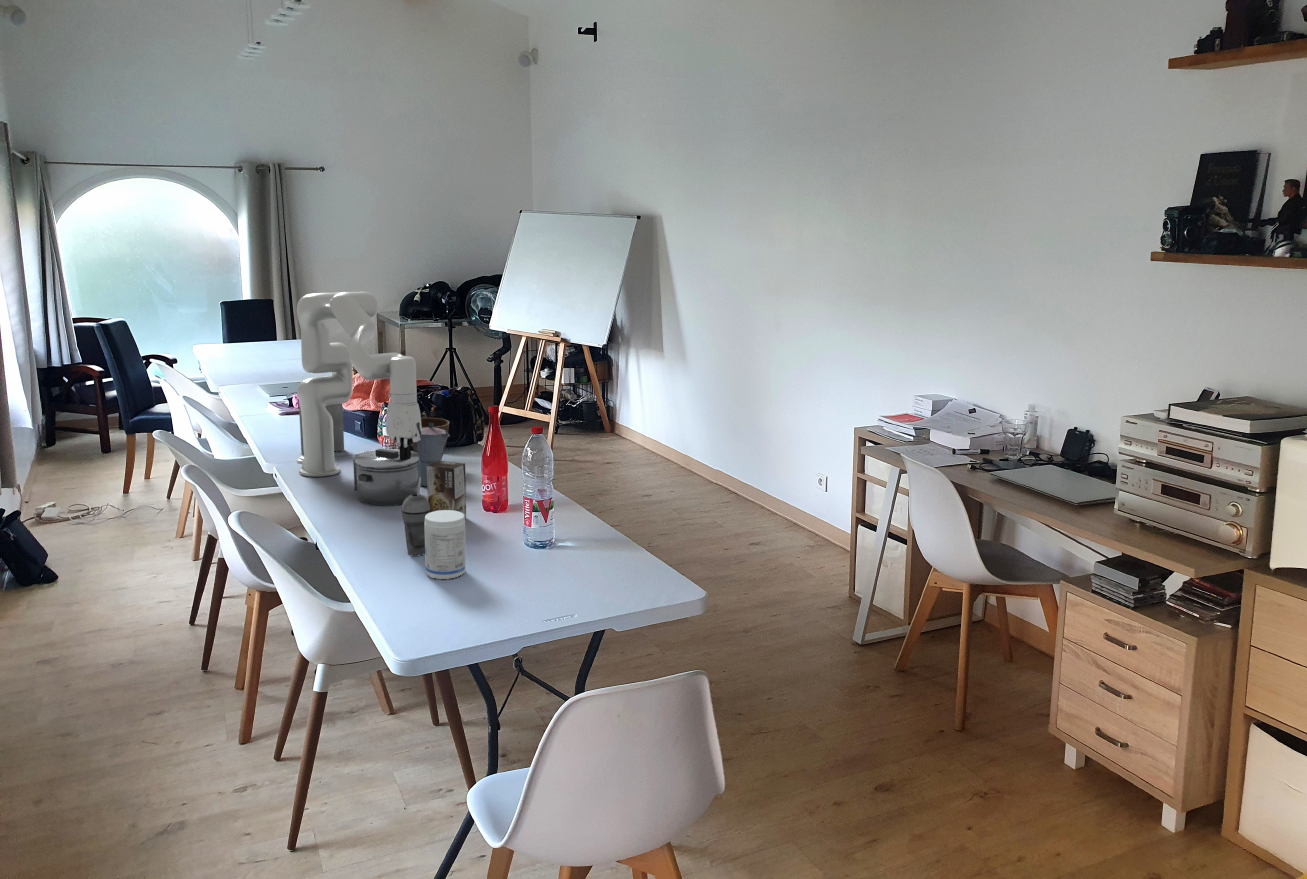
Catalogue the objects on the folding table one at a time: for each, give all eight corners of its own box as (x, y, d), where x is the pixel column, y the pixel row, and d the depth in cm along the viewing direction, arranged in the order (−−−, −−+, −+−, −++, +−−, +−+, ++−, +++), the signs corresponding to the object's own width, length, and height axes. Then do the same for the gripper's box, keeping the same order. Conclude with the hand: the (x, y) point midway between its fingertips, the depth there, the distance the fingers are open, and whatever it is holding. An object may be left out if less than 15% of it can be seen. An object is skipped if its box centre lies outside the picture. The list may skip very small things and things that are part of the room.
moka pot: (444, 489, 302) (443, 427, 297) (399, 485, 304) (397, 423, 300) (456, 481, 311) (455, 421, 306) (412, 477, 314) (410, 417, 309)
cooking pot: (334, 500, 286) (333, 465, 283) (384, 484, 305) (383, 450, 303) (388, 511, 277) (386, 474, 275) (435, 493, 297) (435, 458, 294)
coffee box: (467, 517, 274) (466, 463, 270) (455, 524, 268) (454, 468, 264) (439, 513, 277) (438, 459, 273) (427, 519, 271) (426, 464, 267)
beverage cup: (405, 548, 247) (402, 473, 243) (433, 548, 248) (432, 473, 243) (400, 558, 240) (397, 481, 236) (429, 558, 241) (427, 481, 236)
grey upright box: (341, 447, 350) (338, 393, 346) (346, 451, 346) (343, 396, 341) (299, 452, 342) (296, 397, 337) (303, 455, 337) (300, 399, 333)
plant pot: (459, 467, 328) (458, 421, 325) (428, 476, 316) (427, 428, 312) (427, 460, 336) (426, 416, 332) (395, 469, 323) (394, 422, 320)
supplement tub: (426, 567, 234) (425, 509, 231) (466, 565, 236) (465, 508, 233) (424, 581, 225) (423, 522, 222) (465, 580, 227) (464, 521, 224)
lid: (339, 463, 284) (338, 453, 283) (381, 450, 301) (381, 441, 300) (391, 471, 276) (390, 460, 275) (432, 458, 293) (431, 448, 292)
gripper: (374, 397, 281) (377, 458, 285) (415, 403, 275) (417, 465, 279) (392, 394, 287) (394, 453, 291) (432, 399, 281) (433, 459, 285)
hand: (405, 459), depth 285 cm, fingers closed
